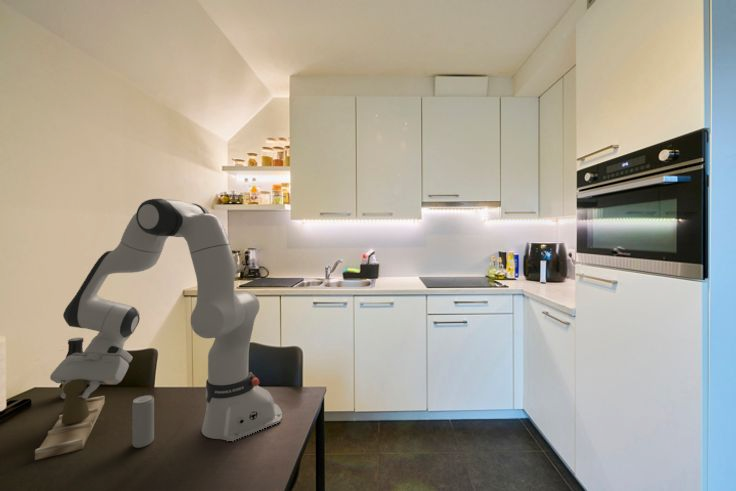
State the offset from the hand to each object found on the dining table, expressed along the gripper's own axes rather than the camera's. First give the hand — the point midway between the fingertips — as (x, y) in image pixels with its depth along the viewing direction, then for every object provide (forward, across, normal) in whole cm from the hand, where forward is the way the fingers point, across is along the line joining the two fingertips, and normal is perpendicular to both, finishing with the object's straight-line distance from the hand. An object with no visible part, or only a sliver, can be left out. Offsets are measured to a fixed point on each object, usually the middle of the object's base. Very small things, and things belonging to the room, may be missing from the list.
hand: (73, 398), depth 93 cm
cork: (+4, 0, +5) cm, 7 cm away
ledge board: (+6, 0, +7) cm, 9 cm away
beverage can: (+11, +25, +2) cm, 27 cm away
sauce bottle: (-8, -19, +21) cm, 29 cm away
